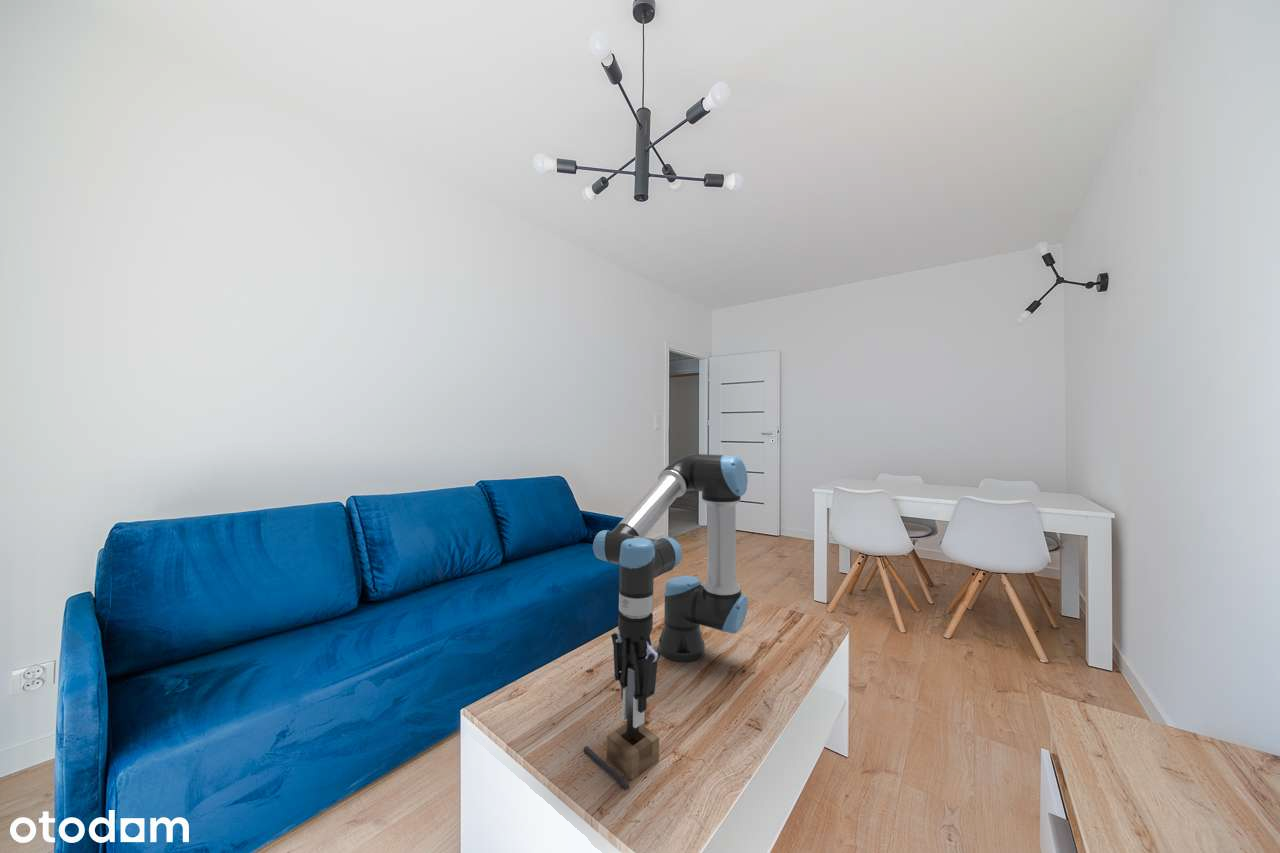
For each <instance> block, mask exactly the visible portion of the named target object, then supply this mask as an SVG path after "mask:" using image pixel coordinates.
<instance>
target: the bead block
mask: <svg viewBox="0 0 1280 853" xmlns="http://www.w3.org/2000/svg"><path fill="white" fill-rule="evenodd" d="M626 724H627V722H626V723H625V724H623V725H622V726H620V727H618V728H616V729H615V730H613V731H612V732H610V733H608V734H607V735H606V759H607V760H608V761H609V762H610V763H611V764H612V765H613V766H615V767H616V769H618V770H619V771H620V772H621V773H623V775H625V776H626V777H627V778H628V779H629V781H633V780H634V779H635V778H637V777H638V776H639V775H641V774H642V773H644V772H645V771H647V770H648V769H649V768H650V767H652V766H654V764H656V763H657V762H658V761H659V759H660V756H659V754H660V737H659V735H657V734H655V733H654V732H652V731H651V730H650V729H649V728H648V727H646V726H644V725H643V724H641V725H640V726H639V734H638V735H637V736H635V737H631V736H628V735H627V733H626Z"/></svg>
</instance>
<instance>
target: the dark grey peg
mask: <svg viewBox="0 0 1280 853" xmlns="http://www.w3.org/2000/svg"><path fill="white" fill-rule="evenodd" d="M634 695H636V681H635V666H634V664H630V665H629V666H628V682H627V719H626V723H627V724H626V723H625V724H626V733H627V735H628V736H631V737H635V736H637V735H638V734H639V726H638V727H637V728H634V727H633V697H634Z"/></svg>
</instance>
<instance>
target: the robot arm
mask: <svg viewBox="0 0 1280 853" xmlns="http://www.w3.org/2000/svg"><path fill="white" fill-rule="evenodd" d="M747 472H748V471H747V468H746V466H745V464H744V461H743V460H742V459H741V458H739V457H738V456H735V455H728V454H703V453H701V454H700V453H690V454H687V455H684V456H682V457H680V458H678V459H675V460H674V461H673V462H671V463H670V464H669V465H667V466H666V467H665V468H664V469H663V470H662V471H661V472H660V473H659V475H658V478H657V481H656V482H655V484H653V486H651V488H650V489H649V490H648V491H647V492H646V493H645V494H644V495H643V497H642V498H641V499H640V500H639V501H638V502H637V503H636V505H635V506H633V507H632V509H631V510H630V511H629V512H628V513H627V514H626V515H625V516H624V517H623V519H622V520H621V521H620V522H619V523H618V524H617V525H616V526H615V528H613V530H609V529H607V530H606V529H605V530H601V531H599V532H597V533H596V535H595V537H594V539H593V543H592V550H593V553H594V556H595V557H596V558H597V559H598V560H600V561H604V562H607V563H608V564H609V563H611V564H615V565H619V588H618V589H619V590H618V611H619V612H618V620H617V624H618V626H617V629H618V631H617V632H614V633H612V634H611V640H612V644H613V645H612V646H613V666H614V668H613V669H614V679H615V681H619V685H620V687H621V693H620V695H621V696H620V699H621V700H622V704H621V705H622V707H621V708H622V711H621V714H622V715H621V718H622V720H623V721H627V682H628V666H629V665H630V664H634V666H635V681H636V695H634V697H633V727H634V728H637V727H638V726H640V725H641V724H642V725H643V724H644V723H645V717H646V716H645V712H646V710H647V706H648V705H647V704H648V703H647V700H648V698H650V697H651V696H654V695H655V691H656V681H657V673H658V672H657V670H658V662H659V659H660V657H661V655H662V656H663V657H664V658H666V659H667V660H672V661H676V662H679V663H680V662H681V663H682V662H684V663H687V662H694V661H697V660H699V659H701V658H703V657H704V655H705V651H706V645H705V641H704V639H703V635H702V631H701V626H703V627H706V628H710V629H714V630H718V631H721V632H722V633H728V634H732V635H734V634H737V633H739V631H740V630H742V627H743V626H744V623H745V621H746V617H747V614H748V609H749V599H748V596H747V595H745V594H742V585H741V584H740V583H739V581H737V550H736V549H737V545H736V544H737V540H736V538H737V536H736V534H737V533H736V528H737V526H736V525H737V524H736V522H737V521H736V516H737V515H736V513H737V512H736V507H737V506H736V505H737V504H738V503H739V502H741V497H742V496H744V495H745V494H746V492H747V489H748V480H749V479H748V473H747ZM690 491H696V492H701V500H702V501H703V502H704V503H705V504H706V510H707V511H706V517H707V518H706V521H707V524H706V526H707V527H706V528H707V530H706V531H707V539H706V540H707V580H705V581H704V582H703V584H702V581H701V578H699V577H697V576H694V575H693V576H692V575H682V576H675V577H673V578H670V579H668V580H667V582H666V583H665V586H664V594H663V595H664V616H663V617H664V624H663V628H662V630H661V633H660V637H659V640H658V650H655V649H654V648H653V647H652V640H651V637H650V636H651V633H652V631H653V628H654V627H653V623H654V615H653V612H654V584H655V583H654V582H655V578H657V577H659V576H661V575H664V574H665V573H668V572H670V571H673V569H674V568H676V567H677V566H678V565H680V562H681V561H682V559H683V551H682V550H683V549H682V547H681V545H680V543H679V541H677V540H676V539H674V538H672V537H668V536H667V537H660V538H659V539H655V538H650V537H646V536H647V535H648V533H649V532H650V531H651V530H652V529H653V527H654V526H655V525H656V523H657V522H658V521H659V520H660V519H661V517H662V516H663V515H664V513H666V512H667V510H668V509H669V508H670V506H672V504H673V503H674V501H675V500H676V499H677V498H680V497H682V496H683V495H685V493H686V492H690Z"/></svg>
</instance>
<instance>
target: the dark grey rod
mask: <svg viewBox="0 0 1280 853" xmlns="http://www.w3.org/2000/svg"><path fill="white" fill-rule="evenodd" d="M583 752H584V753H585V754H586V755H587V756H589V758H590V759H591V760H592V761H594V762H595V763H596V765H598V766H599V767H600V768H601V769H603V771H604V772H606V773H607V774H608V775H609V776H610V777H611V778H612V779H613V780H614V781H615V782H617V783H618V784H619V785H620V786H621V787H622V788H623V789H624V790H625V791H626V790H629V788H630V784H629V782H628V781H627V780H626V779H624V778H623V777H622V776H621V775H620V774H619V773H618V772H616V770H614V769H613V768H612V767H611V765H609V764H608V763H606V761H604V760H603V759H602V758H601V757H600V756H599V755H598V754H597V753H595V751H593V750H592V749H591V748H590V747H589V746H588V745H586V746H584V747H583Z"/></svg>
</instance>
